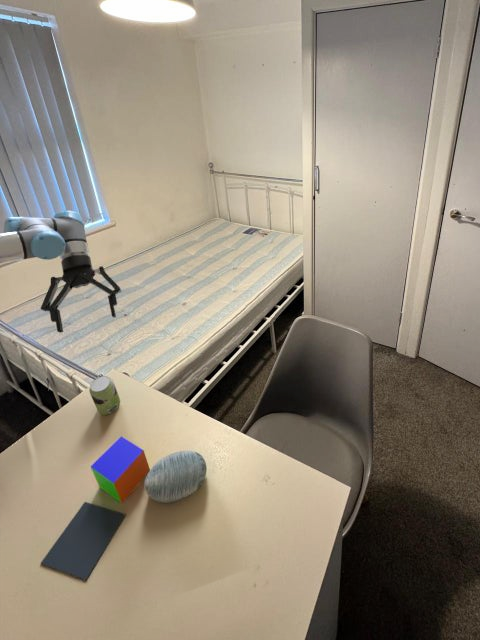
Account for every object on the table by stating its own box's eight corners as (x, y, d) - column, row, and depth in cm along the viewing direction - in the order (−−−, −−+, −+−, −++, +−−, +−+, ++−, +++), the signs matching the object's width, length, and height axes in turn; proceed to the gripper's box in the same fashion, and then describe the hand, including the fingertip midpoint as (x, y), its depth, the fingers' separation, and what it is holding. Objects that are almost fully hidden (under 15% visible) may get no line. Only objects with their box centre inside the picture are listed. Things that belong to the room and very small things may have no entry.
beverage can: (117, 395, 101) (107, 367, 96) (125, 410, 96) (115, 381, 91) (95, 407, 97) (83, 379, 92) (102, 424, 92) (90, 394, 87)
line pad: (40, 564, 65) (40, 563, 65) (85, 502, 74) (84, 501, 74) (86, 580, 62) (85, 580, 62) (126, 515, 72) (125, 514, 72)
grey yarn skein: (210, 445, 83) (195, 442, 75) (214, 490, 78) (197, 492, 69) (159, 461, 83) (138, 460, 75) (159, 507, 77) (136, 512, 69)
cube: (128, 456, 84) (121, 436, 81) (150, 470, 81) (143, 450, 77) (99, 486, 77) (90, 466, 74) (121, 503, 74) (113, 483, 71)
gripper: (121, 253, 109) (135, 313, 103) (30, 272, 98) (40, 340, 92) (118, 245, 102) (133, 308, 97) (20, 264, 91) (30, 336, 86)
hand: (88, 324), depth 94 cm, fingers open, 13 cm apart
